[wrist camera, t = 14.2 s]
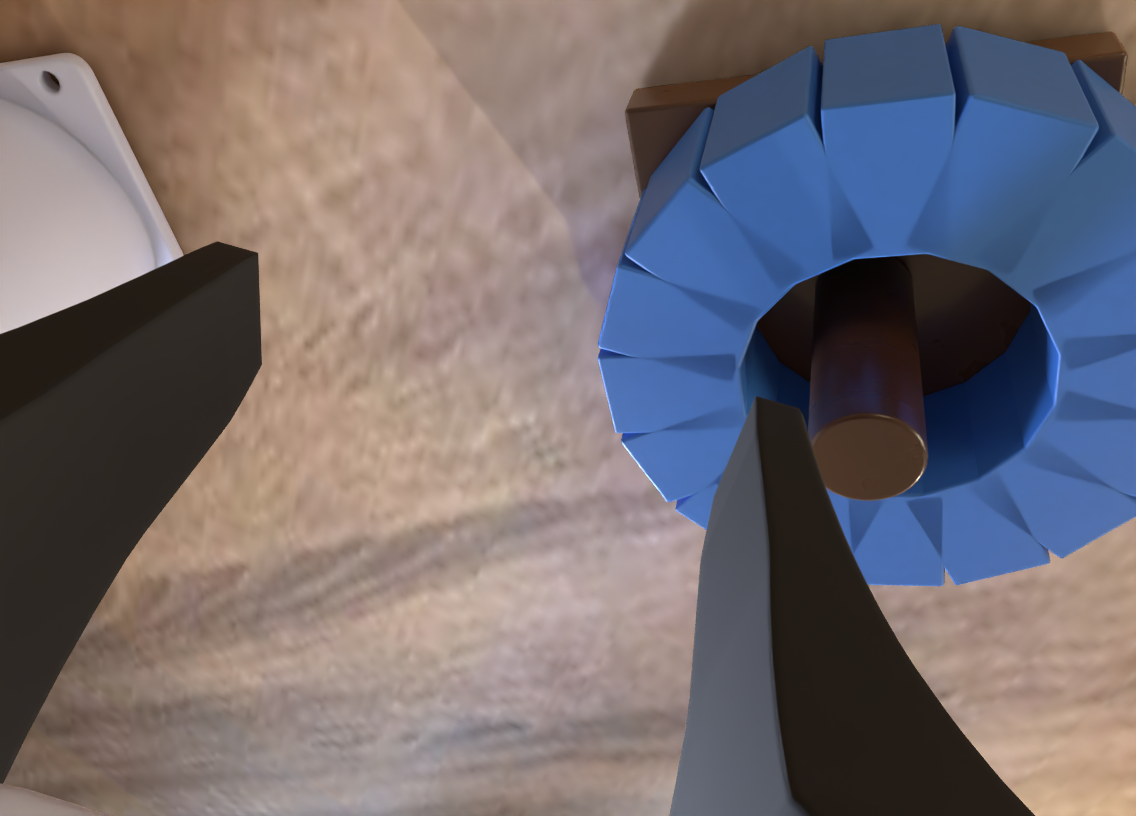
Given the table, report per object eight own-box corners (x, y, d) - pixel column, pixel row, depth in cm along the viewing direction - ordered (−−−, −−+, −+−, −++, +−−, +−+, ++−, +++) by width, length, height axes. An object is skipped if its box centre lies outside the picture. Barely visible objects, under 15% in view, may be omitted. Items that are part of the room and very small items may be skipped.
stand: (688, 420, 26) (649, 621, 21) (633, 87, 20) (562, 249, 15) (1065, 413, 23) (1125, 641, 18) (1115, 28, 18) (1220, 200, 13)
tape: (668, 489, 26) (650, 580, 23) (582, 72, 19) (544, 141, 17) (1148, 486, 22) (1184, 593, 20) (1243, -20, 16) (1314, 49, 14)
